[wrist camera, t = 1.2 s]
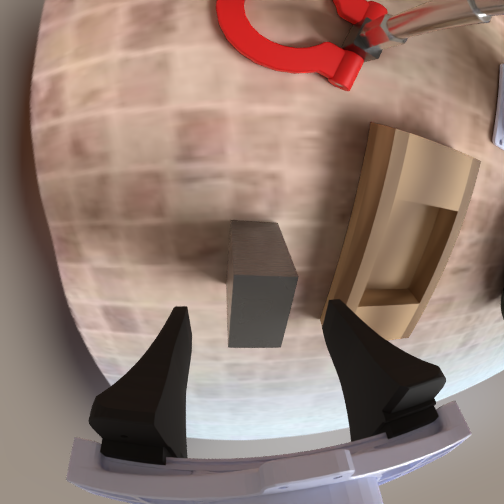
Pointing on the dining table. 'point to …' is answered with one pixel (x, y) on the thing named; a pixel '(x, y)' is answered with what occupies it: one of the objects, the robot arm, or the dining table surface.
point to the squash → (502, 304)
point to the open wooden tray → (401, 228)
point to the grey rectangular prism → (258, 285)
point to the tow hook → (351, 34)
